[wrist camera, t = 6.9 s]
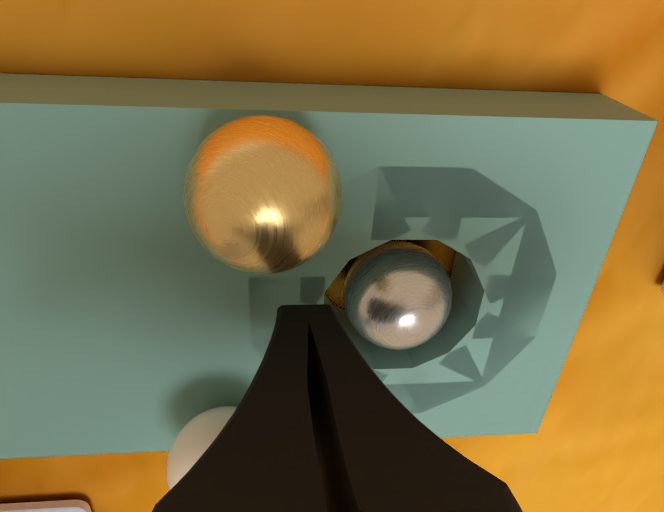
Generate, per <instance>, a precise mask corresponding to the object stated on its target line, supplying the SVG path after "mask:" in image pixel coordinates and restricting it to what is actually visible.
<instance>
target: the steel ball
mask: <svg viewBox="0 0 664 512" xmlns="http://www.w3.org/2000/svg"><path fill="white" fill-rule="evenodd" d="M343 301H344V307H345V311H346V314H347V316H348V318H349V320H350V322H351V324H352V325H353V327H354V328H355V329H356V331H357V332H358V333H359V334H360V335H361V336H363V337H364V338H365V339H366V340H368V341H369V342H371V343H373V344H375V345H377V346H380V347H383V348H387V349H394V350H402V349H409V348H413V347H417V346H419V345H421V344H423V343H425V342H427V341H428V340H430V339H431V338H432V337H434V336H435V335H436V334H437V333H438V332H439V330H440V329H441V328H442V326H443V325H444V323H445V322H446V320H447V318H448V315H449V312H450V309H451V304H452V288H451V283H450V279H449V277H448V274H447V272H446V270H445V268H444V267H443V265H442V264H441V262H440V261H439V260H438V259H437V258H436V257H435V256H434V255H433V254H432V253H430V252H429V251H428V250H426V249H425V248H423V247H421V246H418V245H416V244H413V243H409V242H403V241H391V242H386V243H384V244H382V245H380V246H378V247H375V248H373V249H371V250H369V251H367V252H365V253H363V254H362V255H360V256H359V257H358V258H357V260H356V261H355V262H354V263H353V265H352V266H351V268H350V269H349V271H348V274H347V276H346V279H345V283H344V289H343Z"/></svg>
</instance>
